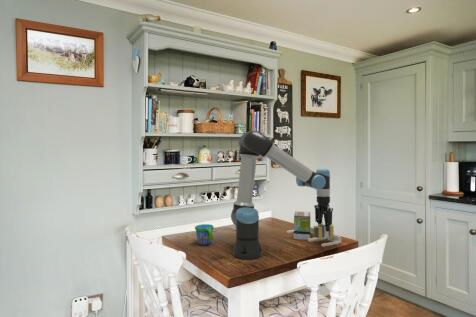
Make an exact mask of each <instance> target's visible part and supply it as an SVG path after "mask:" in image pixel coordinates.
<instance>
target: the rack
mask: <svg viewBox="0 0 476 317" xmlns="http://www.w3.org/2000/svg"><path fill="white" fill-rule="evenodd" d="M286 233H287V234H292V233H294V229H289V230H286ZM310 233H311V234H310V235H313V234H314V226H310ZM325 239H326V240H327V239H328V240H327V241H329V242H324V243H321V245H320V246H321V247H330V246H334V244H335V245H340V244H339V243H341V244H342V236H341V235H338V234H335V233H334V236H329V237H324V238H316V237H310V238H308V240H307V242H309V243H310V242H311V243H313V242H319V241H325Z"/></svg>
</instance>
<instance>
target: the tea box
mask: <svg viewBox="0 0 476 317" xmlns="http://www.w3.org/2000/svg"><path fill="white" fill-rule="evenodd" d="M310 227H311V211H301V210H299V211H296V210H295V211H294V215H293V230H294V232H293V239H294V240H303V241H304V240H305V241H308V238H311V234H310Z"/></svg>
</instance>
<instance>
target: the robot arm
mask: <svg viewBox="0 0 476 317" xmlns="http://www.w3.org/2000/svg"><path fill="white" fill-rule="evenodd" d="M238 145H239V150H238V152H239V153H238V155H239V156H240V168H239V169H240V170H239V177H238V184H237V185H238V186H237V193H236V194H237V195H236V200H235V201H234V202H233V205H232V206H233V207H232V211H231V214H230V219H231V221H232V224H233V225H234V226H235V243H234V245H233V248H232V256H233V257H234V258H237V259H241V260H242V259H243V260H255V259H259V258H261V257H262V256H263V249H262V246H261V243H260V240H259V239H260V238H259V234H260V233H259V229H260V228H259V225H260V222H259V218H260V217H259V216H260V214H259V211H258V210H257V209H256V208H255V204H254V203H253V195H254V189H255V188H254V187H255V186H254V184H255V176H256V168H257V160H258V159H259V158H260V156H261V157H262V158H267V159H269V160H271V161H272V162H273V163H274V164H276V165H278V166H279V167H281V168H282V169H284V170H285V171H287V172H289V173H290V174H291V175H293V176H294V177H295V181H296V182H295V183H296V185H297V186H298V187H307V188H311V189H314V190H316V203H317V204H316V205H314V216H315V217H314V218H315V223H317V226H320V225H324V237H329V225H333V211H334V208H333V207H330V203H331V197H330V195H331V186H330V185H331V180H330V179H331V174H330V169H327V168H324V169H323V168H319V169H318V168H317V169H316V171H313V170H312V169H310V168H309V167H308V166H306V165H305V164H303V163H302V162H300V161H299V160H297V159H296V158H295V157H293V156H291V155H290V154H288V153H287V152H286V151H285V150H282V149H281V148H280V147H278V146H277V145H275V142H274V141H273V140H272V139H271V138H269V137H268V136H266V135H265V134H264V133H262V132H260V131H258V130H250V131H246V132H244V133H242V135H241V136H240V137H239V141H238ZM323 220H324V222H323Z"/></svg>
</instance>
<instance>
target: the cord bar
mask: <svg viewBox="0 0 476 317" xmlns="http://www.w3.org/2000/svg"><path fill="white" fill-rule="evenodd" d="M324 225H325V224H323V225H320V226H318V225H314V226H313V228H314V235H313V238H315V237H316V238H324ZM334 234H335V233H334V224H332V225H329V236H334Z"/></svg>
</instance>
